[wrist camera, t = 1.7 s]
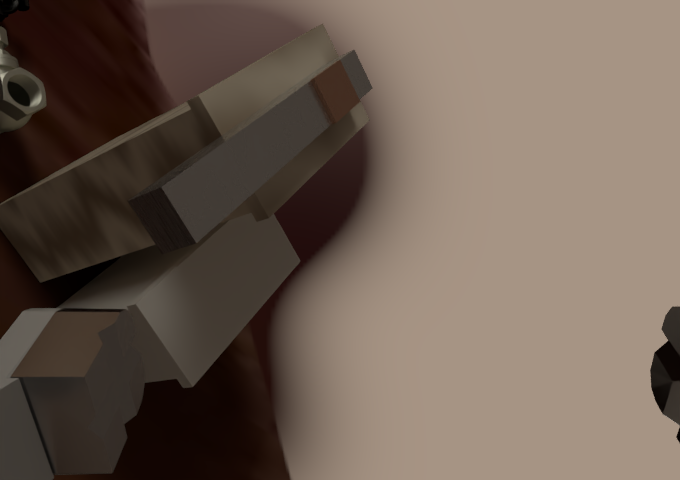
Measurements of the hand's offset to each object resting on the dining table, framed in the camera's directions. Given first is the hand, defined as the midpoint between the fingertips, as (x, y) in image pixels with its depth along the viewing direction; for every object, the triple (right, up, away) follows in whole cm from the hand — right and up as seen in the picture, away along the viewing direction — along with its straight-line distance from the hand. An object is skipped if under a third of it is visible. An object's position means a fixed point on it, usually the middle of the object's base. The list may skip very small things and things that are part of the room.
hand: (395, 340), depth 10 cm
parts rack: (-22, -5, +47) cm, 52 cm away
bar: (-6, +8, +29) cm, 30 cm away
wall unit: (-24, +5, +47) cm, 53 cm away
